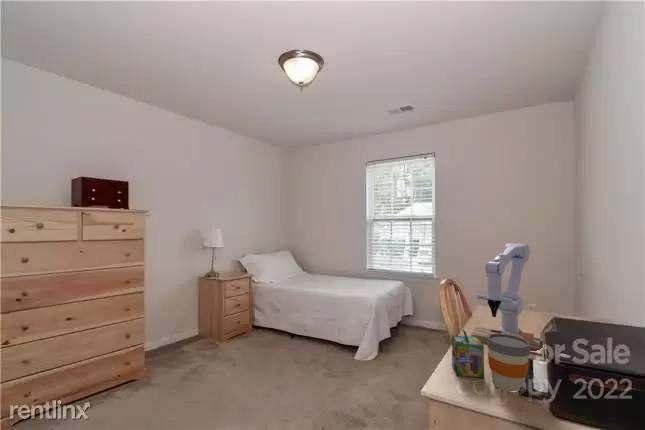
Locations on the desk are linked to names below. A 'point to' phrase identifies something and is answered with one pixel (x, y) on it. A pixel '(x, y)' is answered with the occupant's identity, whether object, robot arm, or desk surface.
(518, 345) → the reusable coffee cup
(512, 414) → the desk surface
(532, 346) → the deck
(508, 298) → the robot arm
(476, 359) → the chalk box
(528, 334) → the block
